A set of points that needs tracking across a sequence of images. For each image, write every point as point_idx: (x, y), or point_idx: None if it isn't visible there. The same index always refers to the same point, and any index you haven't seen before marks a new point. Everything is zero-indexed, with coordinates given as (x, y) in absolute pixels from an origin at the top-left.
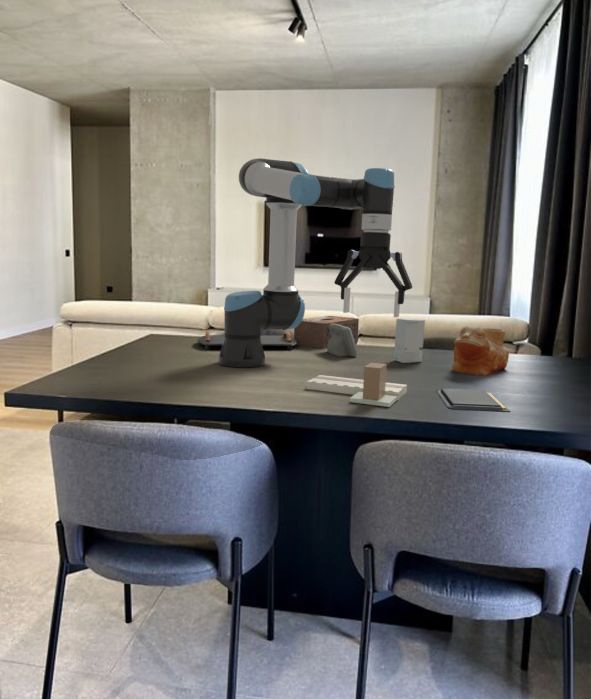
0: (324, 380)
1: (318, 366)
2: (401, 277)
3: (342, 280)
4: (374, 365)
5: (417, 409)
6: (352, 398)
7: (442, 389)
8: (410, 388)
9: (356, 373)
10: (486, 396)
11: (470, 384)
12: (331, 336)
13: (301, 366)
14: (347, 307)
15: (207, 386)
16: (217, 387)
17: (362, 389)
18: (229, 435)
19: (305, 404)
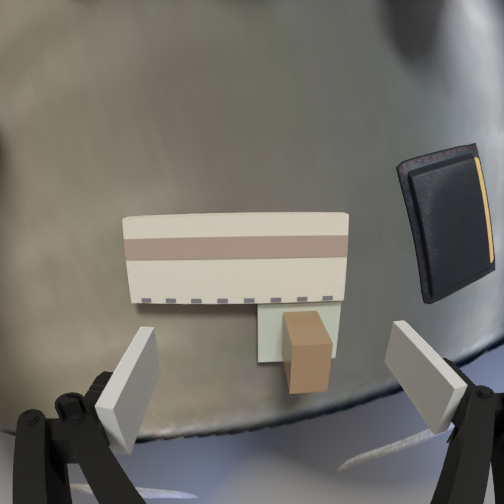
0: (157, 272)
1: (72, 60)
2: (493, 476)
3: (47, 438)
4: (308, 372)
5: (378, 336)
6: (263, 361)
7: (413, 184)
8: (343, 168)
9: (173, 70)
10: (479, 214)
11: (437, 74)
12: None
13: (43, 87)
14: (152, 366)
15: (20, 350)
16: (31, 350)
17: (263, 302)
18: (193, 497)
19: (194, 395)
